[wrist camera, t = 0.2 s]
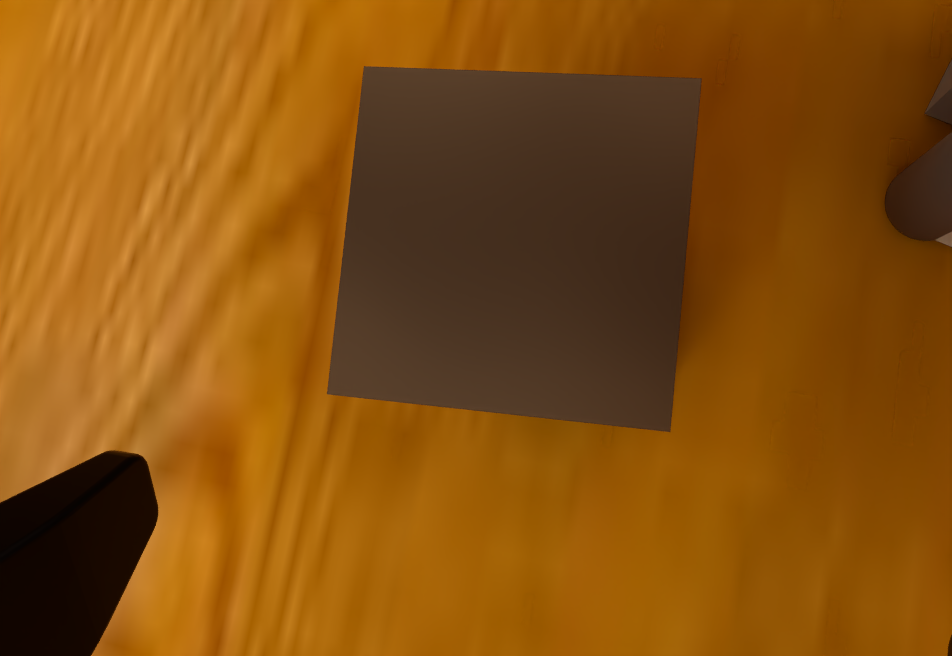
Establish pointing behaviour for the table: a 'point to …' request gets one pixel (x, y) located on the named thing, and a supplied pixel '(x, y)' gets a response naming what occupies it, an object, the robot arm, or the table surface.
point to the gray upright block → (942, 99)
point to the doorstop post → (517, 243)
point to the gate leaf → (924, 196)
